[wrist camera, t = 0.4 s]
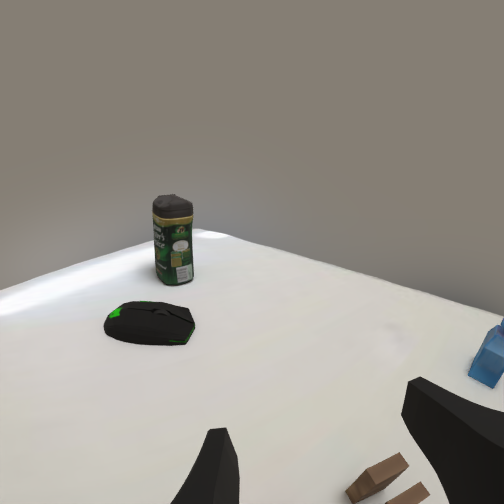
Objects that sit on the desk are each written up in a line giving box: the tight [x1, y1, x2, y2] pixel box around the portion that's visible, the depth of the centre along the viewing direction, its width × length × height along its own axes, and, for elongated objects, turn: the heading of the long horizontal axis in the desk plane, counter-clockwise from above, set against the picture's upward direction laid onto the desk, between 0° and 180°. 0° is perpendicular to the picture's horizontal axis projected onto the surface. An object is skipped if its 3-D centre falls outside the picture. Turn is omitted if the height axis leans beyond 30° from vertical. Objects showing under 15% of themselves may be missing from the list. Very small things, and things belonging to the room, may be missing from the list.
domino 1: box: [346, 452, 409, 504], centre depth 18 cm, size 2×4×6 cm, turn 105°
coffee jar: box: [153, 194, 194, 285], centre depth 60 cm, size 10×8×19 cm
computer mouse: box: [104, 301, 195, 346], centre depth 45 cm, size 11×16×4 cm
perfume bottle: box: [468, 318, 504, 389], centre depth 31 cm, size 6×6×12 cm
